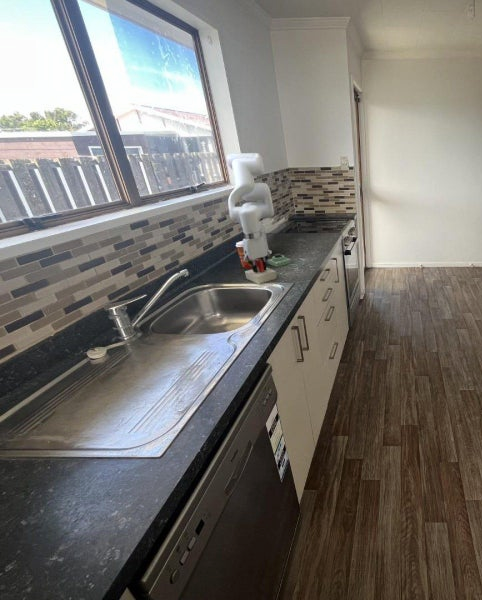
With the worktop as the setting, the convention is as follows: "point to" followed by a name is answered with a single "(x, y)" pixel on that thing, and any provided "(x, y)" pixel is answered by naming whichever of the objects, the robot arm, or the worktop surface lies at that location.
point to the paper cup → (242, 255)
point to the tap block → (261, 276)
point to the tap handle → (259, 265)
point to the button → (278, 255)
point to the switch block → (278, 261)
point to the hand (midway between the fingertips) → (260, 270)
